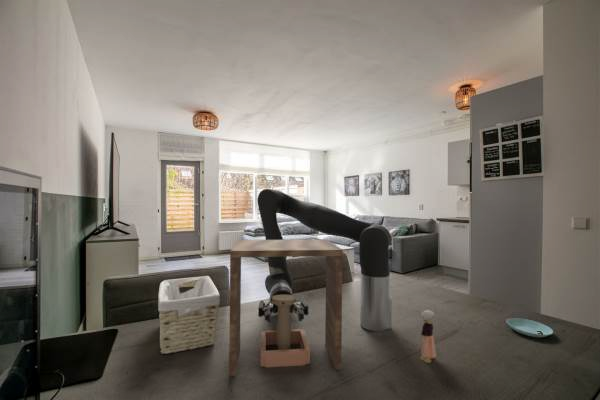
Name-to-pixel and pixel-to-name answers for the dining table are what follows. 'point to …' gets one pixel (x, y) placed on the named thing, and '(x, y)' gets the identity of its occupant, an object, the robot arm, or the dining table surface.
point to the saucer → (529, 327)
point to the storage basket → (187, 314)
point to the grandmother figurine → (427, 337)
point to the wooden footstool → (289, 250)
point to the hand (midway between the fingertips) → (284, 318)
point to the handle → (283, 320)
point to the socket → (284, 356)
